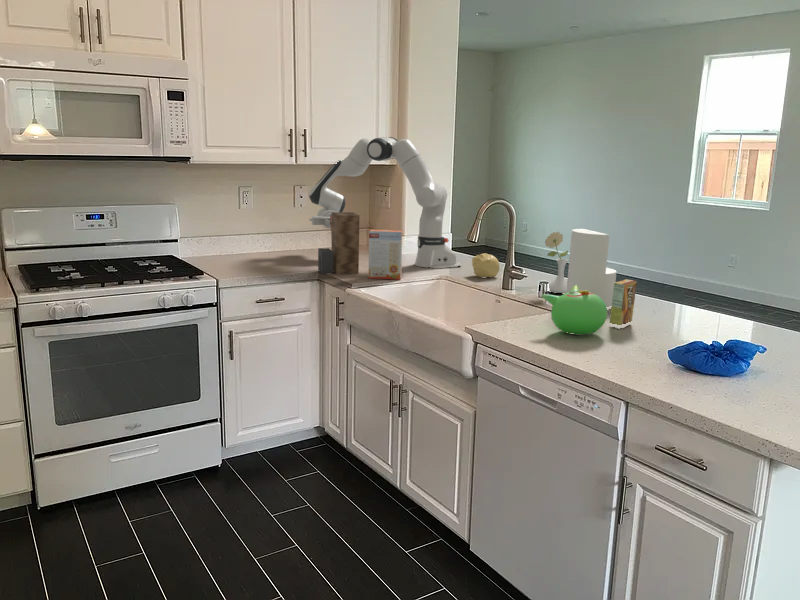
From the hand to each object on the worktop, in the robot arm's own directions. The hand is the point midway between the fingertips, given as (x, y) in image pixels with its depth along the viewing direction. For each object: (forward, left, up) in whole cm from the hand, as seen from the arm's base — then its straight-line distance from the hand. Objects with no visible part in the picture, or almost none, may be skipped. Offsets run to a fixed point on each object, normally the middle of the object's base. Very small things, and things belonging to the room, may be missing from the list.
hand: (334, 222), depth 323 cm
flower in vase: (-76, +80, -20) cm, 112 cm away
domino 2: (+9, +24, -19) cm, 32 cm away
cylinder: (-77, +102, -19) cm, 129 cm away
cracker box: (-14, +41, -20) cm, 48 cm away
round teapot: (-51, +136, -20) cm, 147 cm away
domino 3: (+9, +27, -19) cm, 35 cm away
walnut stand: (0, +23, -19) cm, 30 cm away
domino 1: (+9, +20, -19) cm, 29 cm away
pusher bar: (0, -1, -7) cm, 7 cm away
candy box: (-71, +131, -19) cm, 150 cm away
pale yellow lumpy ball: (-60, +44, -20) cm, 77 cm away
